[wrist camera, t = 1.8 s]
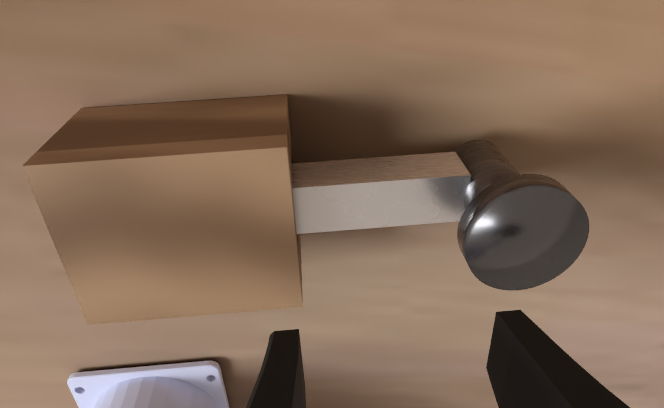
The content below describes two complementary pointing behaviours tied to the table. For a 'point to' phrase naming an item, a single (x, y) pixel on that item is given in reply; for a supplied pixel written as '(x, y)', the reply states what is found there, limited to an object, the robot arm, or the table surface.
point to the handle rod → (452, 208)
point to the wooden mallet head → (173, 208)
